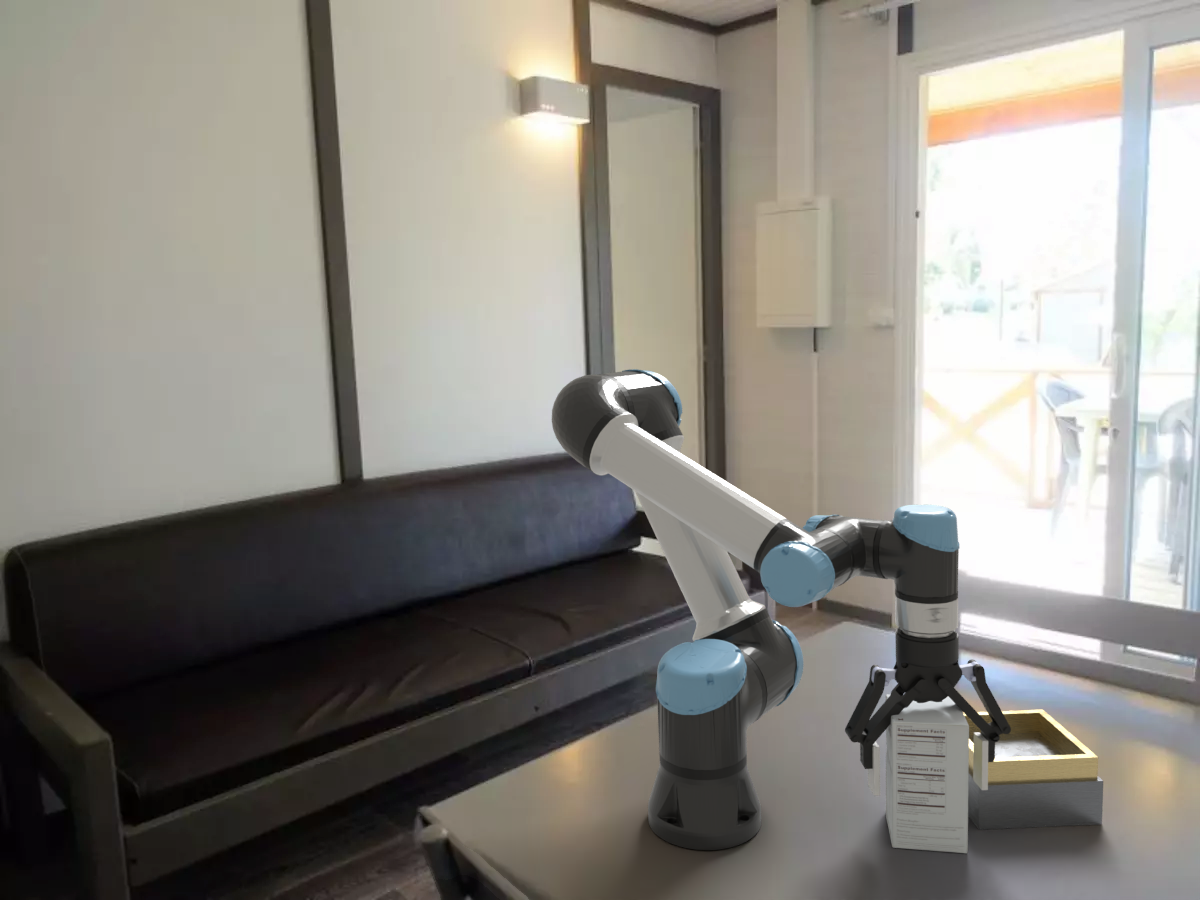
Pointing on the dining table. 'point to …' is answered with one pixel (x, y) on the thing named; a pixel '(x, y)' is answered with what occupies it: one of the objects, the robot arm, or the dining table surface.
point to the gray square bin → (1035, 777)
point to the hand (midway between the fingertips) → (927, 788)
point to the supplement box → (928, 777)
